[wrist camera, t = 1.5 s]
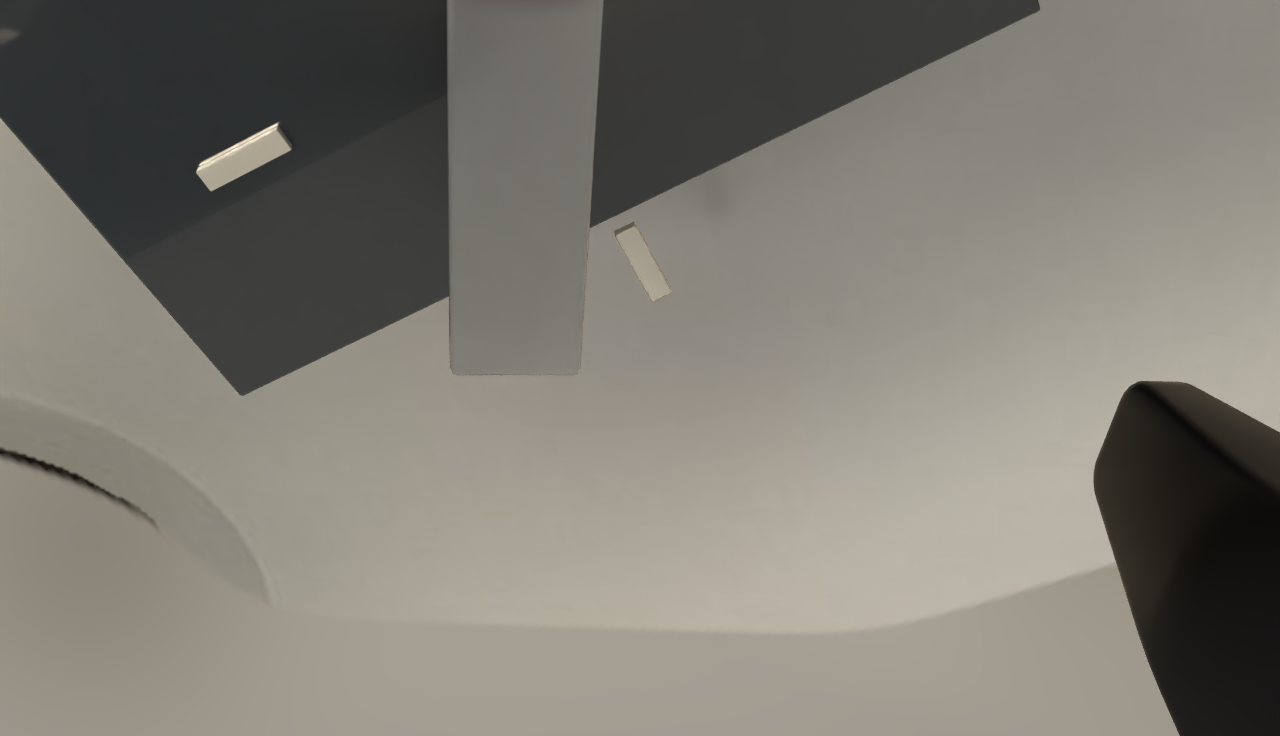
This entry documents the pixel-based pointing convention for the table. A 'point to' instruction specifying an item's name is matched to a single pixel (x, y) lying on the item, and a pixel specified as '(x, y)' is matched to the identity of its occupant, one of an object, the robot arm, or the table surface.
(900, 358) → the table surface
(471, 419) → the table surface
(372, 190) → the dark grey flat block
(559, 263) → the grey and red block
